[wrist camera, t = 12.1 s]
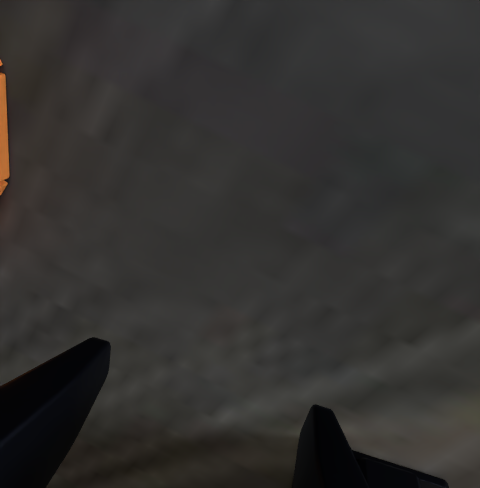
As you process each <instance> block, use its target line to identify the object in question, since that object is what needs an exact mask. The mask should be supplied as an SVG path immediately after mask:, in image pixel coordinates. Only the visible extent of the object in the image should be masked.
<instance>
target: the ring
mask: <svg viewBox="0 0 480 488" xmlns="http://www.w3.org/2000/svg"><path fill="white" fill-rule="evenodd" d="M0 66H2V62H1V60H0ZM7 178H9V152H8V127H7V101H6V76H5V74H3V73H0V195H1V194H2V192H3V191H4V189H5V188H6V186H7V185H8V183H7V182H6V181H4V180H5V179H7Z"/></svg>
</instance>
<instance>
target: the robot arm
mask: <svg viewBox="0 0 480 488" xmlns="http://www.w3.org/2000/svg"><path fill="white" fill-rule="evenodd" d="M110 351H111V345H110V343H109V342H108V341H105V340H102V339H98V338H95V337H92V338H89V339H87V340H85V341H84V342H82V343H80V344H78V345H76V346H74V347H72V348H71V349H69V350H67V351H65V352H63V353H61V354H59V355H58V356H56V357H54V358H52V359H50V360H48V361H46V362H45V363H43V364H41V365H39V366H37V367H35V368H34V369H32V370H30V371H28V372H26V373H24V374H22V375H21V376H19V377H17V378H15V379H13V380H11V381H9V382H8V383H6V384H4V385H2V386H0V488H46V486H47V485H48V483H49V482H50V480H51V478H52V477H53V475H54V474H55V472H56V471H57V469H58V468H59V466H60V464H61V463H62V461H63V460H64V458H65V457H66V455H67V453H68V452H69V450H70V448H71V447H72V445H73V443H74V441H75V439H76V438H77V436H78V434H79V432H80V430H81V428H82V426H83V424H84V422H85V420H86V418H87V416H88V414H89V412H90V410H91V408H92V406H93V404H94V402H95V400H96V398H97V396H98V394H99V392H100V390H101V388H102V386H103V384H104V382H105V379H106V377H107V374H108V371H109V362H110ZM292 488H449V487H448V483H447V482H446V481H445V480H443V479H440V478H437V477H434V476H431V475H428V474H425V473H421V472H418V471H415V470H412V469H409V468H406V467H403V466H400V465H396V464H393V463H390V462H387V461H384V460H381V459H378V458H374V457H371V456H368V455H365V454H362V453H359V452H356V451H353V450H351V448H350V446H349V444H348V442H347V440H346V438H345V435H344V433H343V431H342V429H341V427H340V425H339V423H338V421H337V419H336V417H335V415H334V413H333V411H332V410H331V409H328V408H325V407H322V406H319V405H313V406H312V407H311V409H310V411H309V413H308V415H307V418H306V420H305V422H304V425H303V427H302V430H301V433H300V437H299V443H298V450H297V456H296V463H295V470H294V477H293V484H292Z"/></svg>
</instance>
